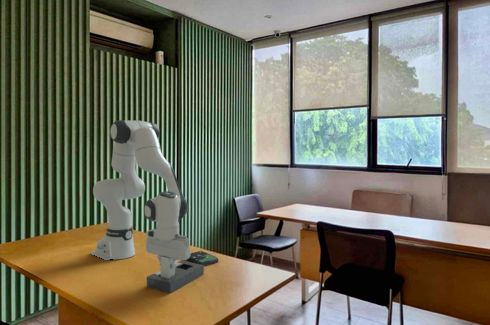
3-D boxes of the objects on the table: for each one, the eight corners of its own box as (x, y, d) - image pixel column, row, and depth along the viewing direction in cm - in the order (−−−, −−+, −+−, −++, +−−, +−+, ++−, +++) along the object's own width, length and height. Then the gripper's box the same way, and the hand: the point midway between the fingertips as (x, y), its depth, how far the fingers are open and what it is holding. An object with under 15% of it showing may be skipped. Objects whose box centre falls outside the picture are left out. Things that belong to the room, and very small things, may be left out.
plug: (160, 281, 137) (160, 256, 137) (168, 277, 141) (168, 253, 141) (168, 283, 135) (168, 258, 135) (176, 279, 139) (176, 255, 139)
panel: (146, 286, 136) (146, 276, 136) (181, 269, 155) (181, 260, 155) (170, 293, 130) (170, 282, 130) (203, 274, 150) (203, 264, 150)
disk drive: (183, 260, 169) (201, 268, 158) (183, 254, 169) (201, 262, 158) (200, 255, 176) (219, 262, 166) (200, 250, 176) (218, 257, 165)
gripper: (193, 234, 135) (193, 269, 136) (154, 228, 144) (154, 260, 145) (183, 238, 129) (183, 274, 130) (143, 231, 139) (143, 264, 140)
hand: (167, 266), depth 138 cm, fingers closed on plug, 4 cm apart
